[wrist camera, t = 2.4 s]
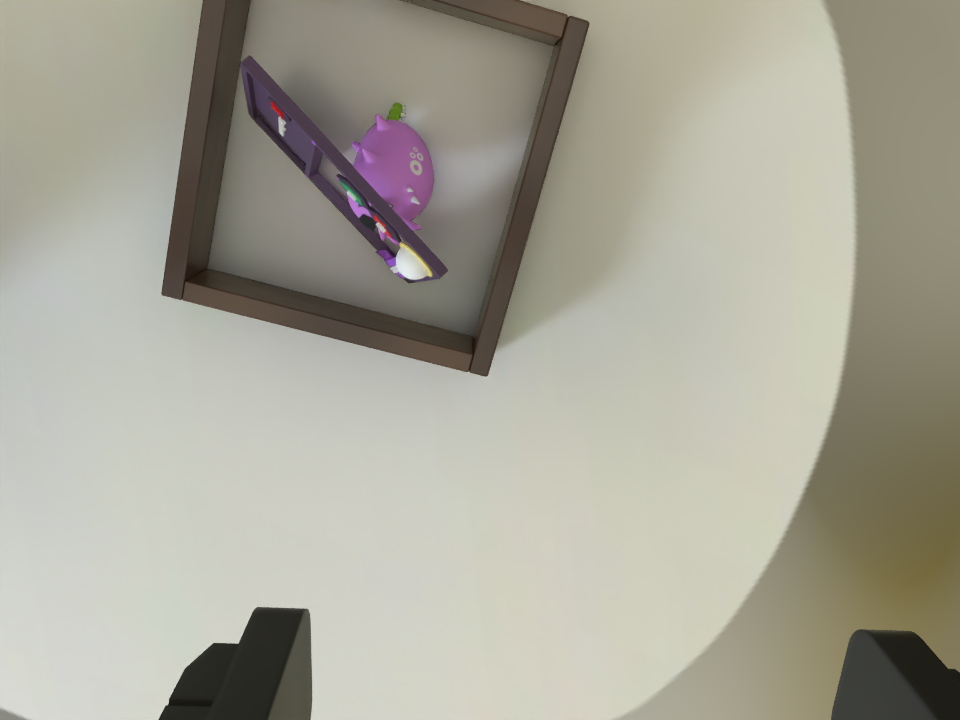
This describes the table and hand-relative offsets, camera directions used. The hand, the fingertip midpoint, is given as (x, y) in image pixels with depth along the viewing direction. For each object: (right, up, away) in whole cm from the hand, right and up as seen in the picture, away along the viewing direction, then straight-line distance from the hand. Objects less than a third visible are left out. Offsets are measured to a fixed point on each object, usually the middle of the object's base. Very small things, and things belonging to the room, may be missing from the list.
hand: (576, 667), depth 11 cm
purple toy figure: (-6, +13, +19) cm, 23 cm away
